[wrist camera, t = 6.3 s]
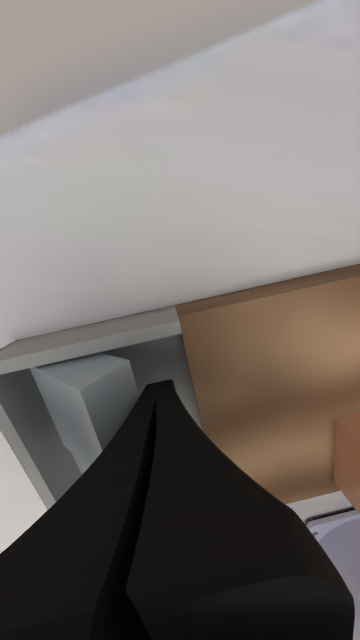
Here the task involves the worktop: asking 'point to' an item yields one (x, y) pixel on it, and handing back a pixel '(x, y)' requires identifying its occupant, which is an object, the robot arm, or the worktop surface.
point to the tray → (105, 337)
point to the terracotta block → (348, 458)
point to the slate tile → (87, 400)
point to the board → (278, 376)
